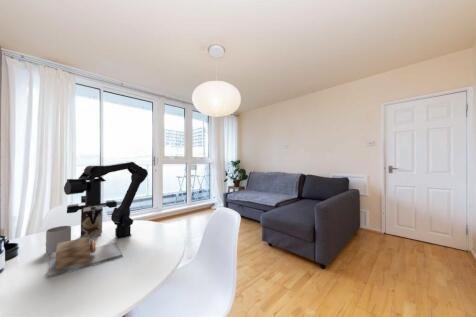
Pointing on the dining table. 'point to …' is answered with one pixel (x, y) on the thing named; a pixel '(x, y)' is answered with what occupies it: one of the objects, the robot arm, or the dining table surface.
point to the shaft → (92, 249)
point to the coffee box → (91, 225)
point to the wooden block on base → (80, 256)
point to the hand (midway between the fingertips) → (92, 224)
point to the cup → (57, 237)
